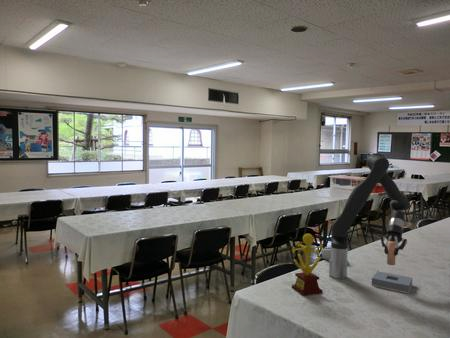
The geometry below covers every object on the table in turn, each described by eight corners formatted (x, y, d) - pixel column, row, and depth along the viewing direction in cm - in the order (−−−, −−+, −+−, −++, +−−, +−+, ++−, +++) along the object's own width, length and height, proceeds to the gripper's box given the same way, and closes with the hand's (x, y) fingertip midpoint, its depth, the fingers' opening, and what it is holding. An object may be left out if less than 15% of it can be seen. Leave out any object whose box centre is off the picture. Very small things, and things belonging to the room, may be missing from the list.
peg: (386, 264, 190) (386, 242, 189) (387, 262, 193) (388, 240, 192) (394, 265, 187) (395, 243, 187) (395, 263, 191) (396, 241, 190)
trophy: (288, 293, 180) (289, 235, 178) (295, 283, 194) (296, 229, 192) (317, 298, 174) (318, 238, 172) (322, 287, 188) (323, 232, 187)
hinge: (348, 262, 232) (346, 249, 229) (345, 266, 229) (343, 252, 226) (325, 256, 244) (323, 244, 241) (322, 260, 241) (320, 247, 238)
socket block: (371, 285, 192) (371, 278, 192) (377, 277, 204) (377, 271, 203) (408, 293, 182) (408, 285, 182) (412, 285, 193) (412, 277, 193)
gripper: (381, 222, 199) (375, 248, 190) (409, 225, 191) (404, 252, 182) (382, 230, 204) (377, 255, 195) (410, 233, 196) (406, 260, 186)
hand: (390, 254), depth 188 cm, fingers closed on peg, 4 cm apart
